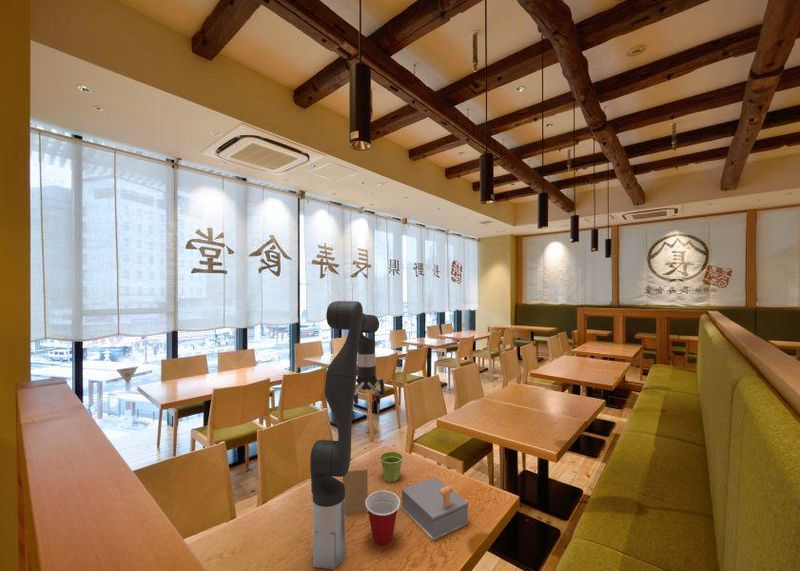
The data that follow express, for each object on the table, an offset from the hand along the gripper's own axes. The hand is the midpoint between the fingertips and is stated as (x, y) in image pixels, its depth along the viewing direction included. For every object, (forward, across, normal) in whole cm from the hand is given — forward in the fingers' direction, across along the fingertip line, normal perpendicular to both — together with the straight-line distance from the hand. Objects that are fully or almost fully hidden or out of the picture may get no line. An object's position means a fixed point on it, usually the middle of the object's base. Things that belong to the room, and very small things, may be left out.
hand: (367, 404), depth 148 cm
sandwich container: (+30, -2, -17) cm, 34 cm away
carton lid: (+24, +27, -23) cm, 43 cm away
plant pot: (+29, +10, -1) cm, 31 cm away
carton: (+30, +27, -23) cm, 46 cm away
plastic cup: (+30, +12, -35) cm, 48 cm away
